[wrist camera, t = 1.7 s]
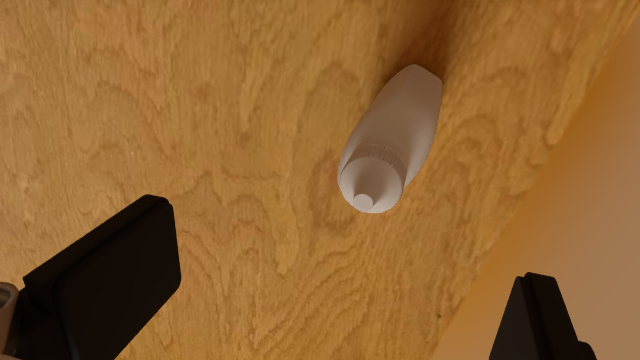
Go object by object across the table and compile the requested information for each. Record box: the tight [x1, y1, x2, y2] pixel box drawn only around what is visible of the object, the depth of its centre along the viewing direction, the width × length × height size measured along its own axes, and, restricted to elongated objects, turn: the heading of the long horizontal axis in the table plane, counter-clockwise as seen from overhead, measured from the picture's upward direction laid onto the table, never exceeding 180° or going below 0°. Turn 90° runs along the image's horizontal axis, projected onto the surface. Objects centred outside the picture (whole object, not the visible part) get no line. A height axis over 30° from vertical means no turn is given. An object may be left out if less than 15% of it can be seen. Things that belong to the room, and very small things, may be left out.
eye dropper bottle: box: [338, 64, 443, 213], centre depth 19 cm, size 4×6×12 cm
